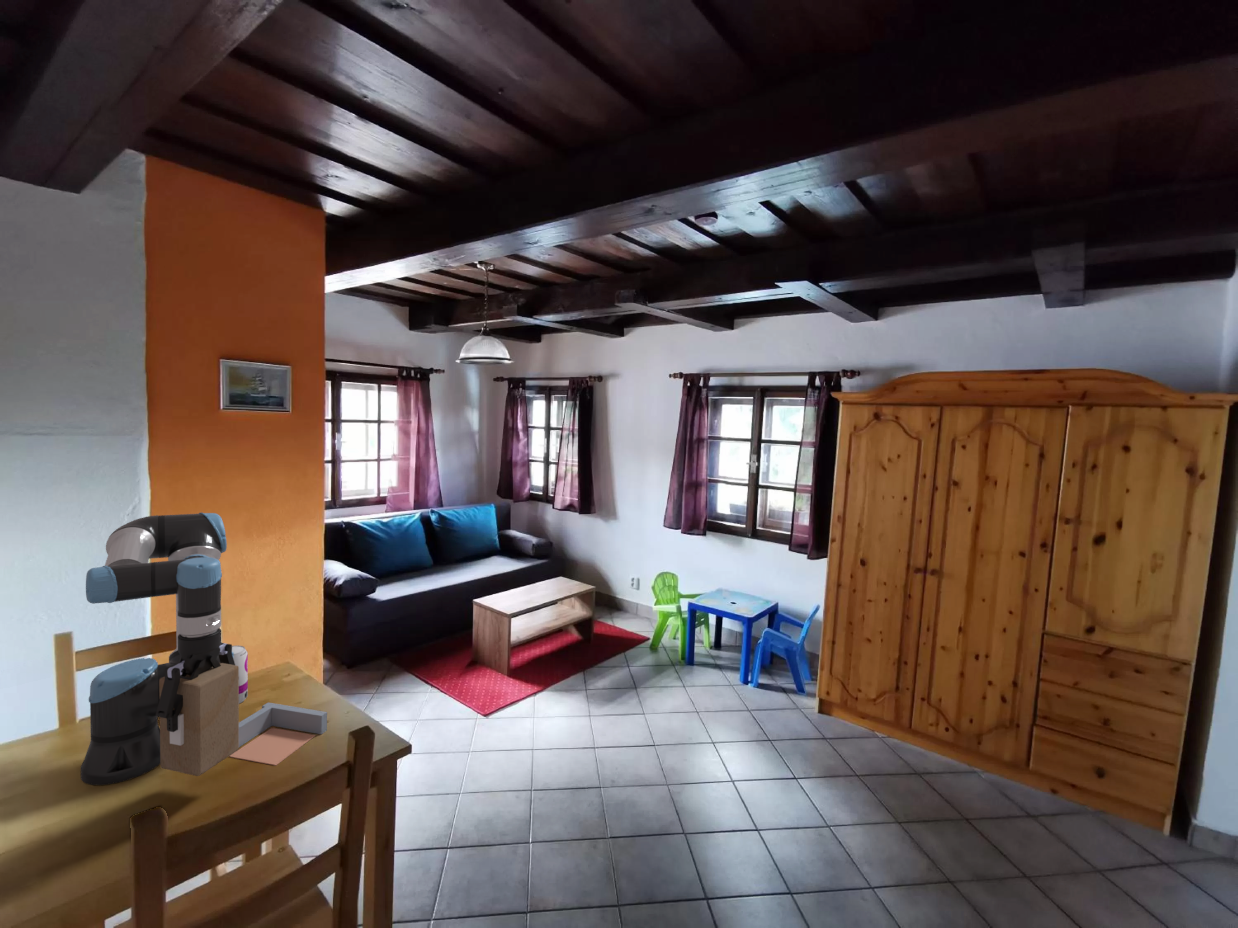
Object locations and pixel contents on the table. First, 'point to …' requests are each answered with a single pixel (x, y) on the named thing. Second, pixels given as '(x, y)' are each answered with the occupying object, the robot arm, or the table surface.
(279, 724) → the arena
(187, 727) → the wooden block
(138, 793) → the table surface
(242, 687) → the supplement can
